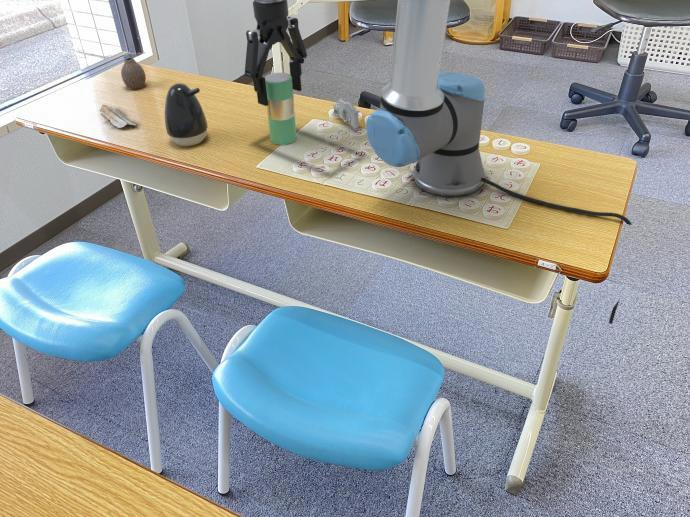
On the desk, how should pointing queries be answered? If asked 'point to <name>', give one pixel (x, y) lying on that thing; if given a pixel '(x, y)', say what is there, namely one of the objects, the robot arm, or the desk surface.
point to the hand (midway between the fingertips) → (280, 96)
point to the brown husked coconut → (133, 74)
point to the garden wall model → (347, 112)
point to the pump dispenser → (184, 116)
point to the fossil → (115, 116)
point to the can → (280, 108)
